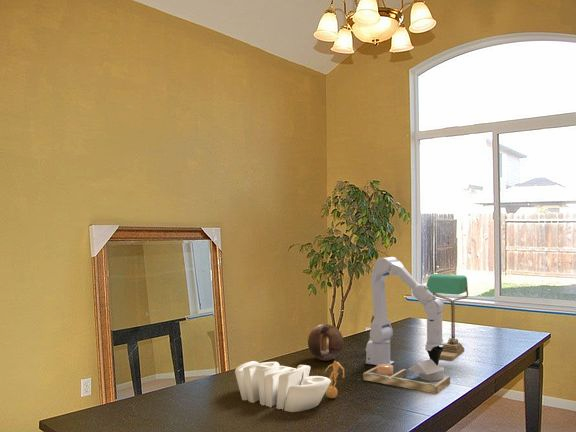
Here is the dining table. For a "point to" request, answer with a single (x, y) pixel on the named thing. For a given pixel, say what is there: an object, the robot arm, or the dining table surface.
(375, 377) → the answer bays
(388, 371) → the tan smooth rounded piece
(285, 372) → the white wavy slab sculpture
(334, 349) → the wooden sphere
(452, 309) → the banker's lamp
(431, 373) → the wedge on round base
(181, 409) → the dining table surface
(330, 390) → the figurine
